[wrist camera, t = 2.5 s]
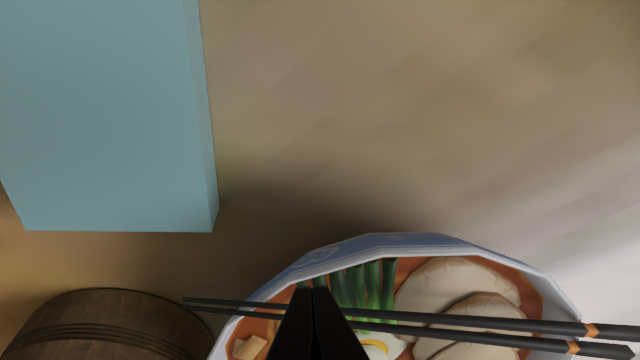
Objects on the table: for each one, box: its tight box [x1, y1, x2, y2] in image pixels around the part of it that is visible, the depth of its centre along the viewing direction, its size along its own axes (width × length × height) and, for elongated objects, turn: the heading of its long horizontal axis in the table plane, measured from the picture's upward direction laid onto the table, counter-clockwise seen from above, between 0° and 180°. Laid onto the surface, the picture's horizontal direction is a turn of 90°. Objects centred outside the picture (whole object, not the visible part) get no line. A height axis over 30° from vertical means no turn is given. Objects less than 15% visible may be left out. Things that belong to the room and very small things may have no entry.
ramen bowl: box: [182, 232, 640, 360], centre depth 24 cm, size 25×23×8 cm
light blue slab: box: [0, 0, 220, 232], centre depth 17 cm, size 10×12×2 cm
